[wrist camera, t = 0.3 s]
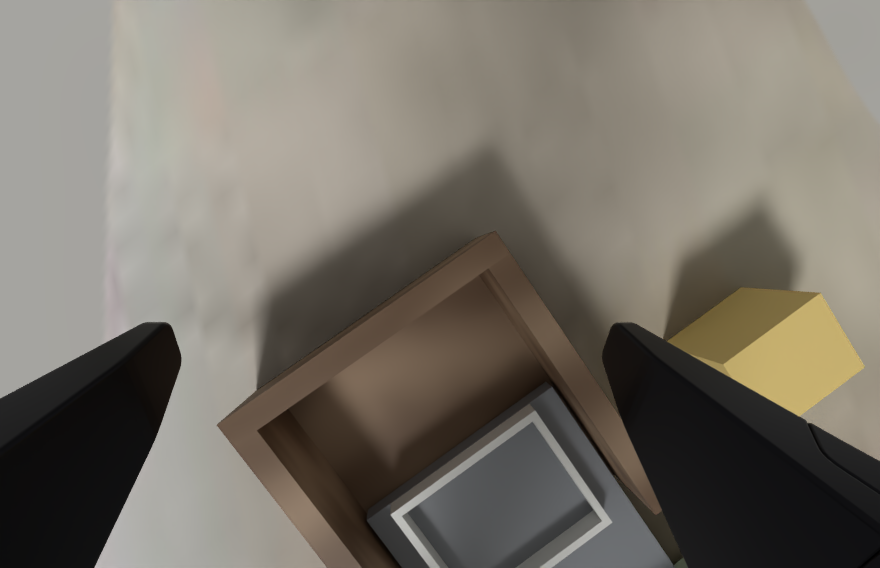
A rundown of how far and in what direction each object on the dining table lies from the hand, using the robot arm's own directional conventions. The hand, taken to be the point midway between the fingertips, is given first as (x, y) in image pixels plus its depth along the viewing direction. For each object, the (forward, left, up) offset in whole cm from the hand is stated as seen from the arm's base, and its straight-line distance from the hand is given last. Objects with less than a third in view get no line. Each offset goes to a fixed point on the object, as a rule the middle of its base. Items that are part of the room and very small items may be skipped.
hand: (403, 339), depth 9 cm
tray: (-16, +2, -15) cm, 22 cm away
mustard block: (-14, -14, -15) cm, 25 cm away
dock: (-8, +2, -15) cm, 17 cm away
